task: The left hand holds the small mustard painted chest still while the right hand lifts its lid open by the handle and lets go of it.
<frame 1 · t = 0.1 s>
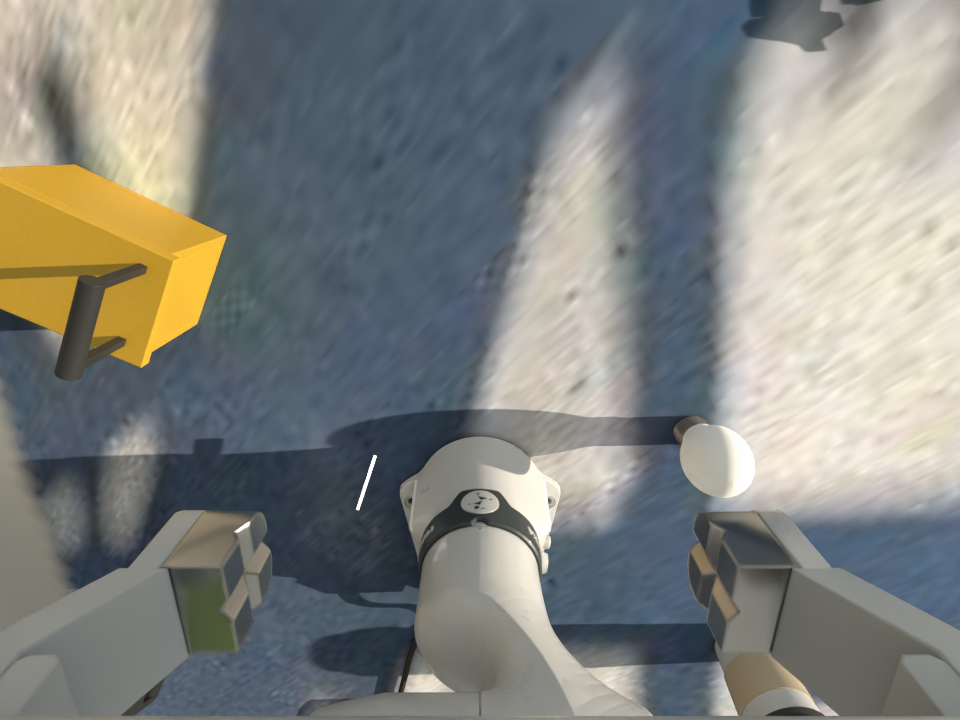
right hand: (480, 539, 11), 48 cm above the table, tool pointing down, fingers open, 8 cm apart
chest: (139, 248, 56), on the table
light bulb: (692, 428, 64), on the table
lid: (32, 282, 43), point 15 cm above the table, hinge at 0.0°
coffee cup: (740, 642, 75), on the table
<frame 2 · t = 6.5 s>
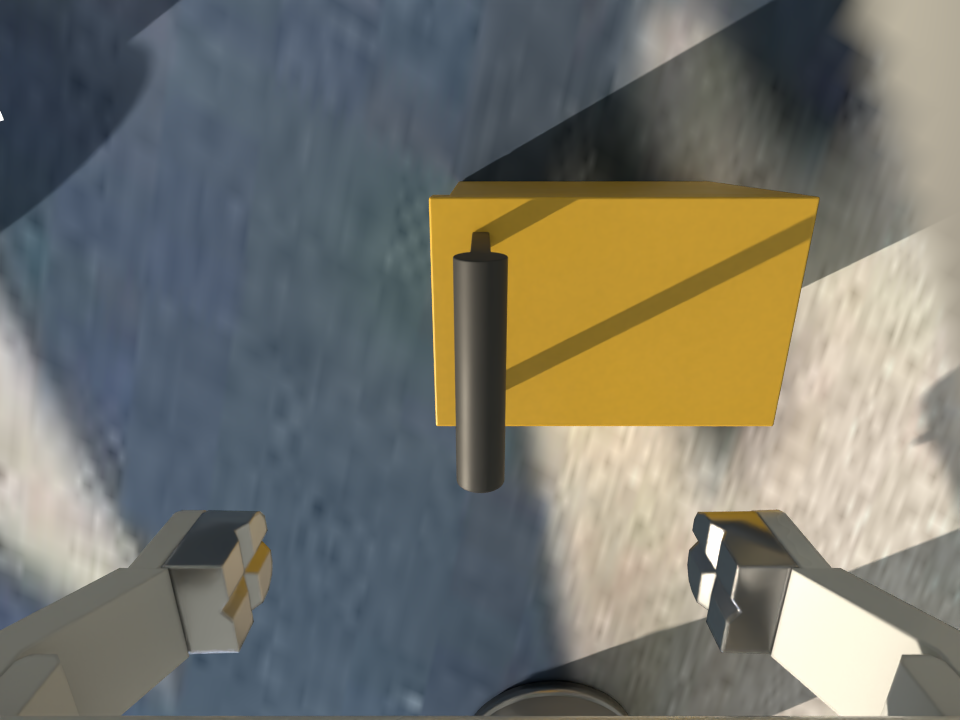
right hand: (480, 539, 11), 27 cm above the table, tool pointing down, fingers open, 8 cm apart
chest: (578, 267, 35), on the table
lid: (631, 343, 22), point 15 cm above the table, hinge at 0.0°
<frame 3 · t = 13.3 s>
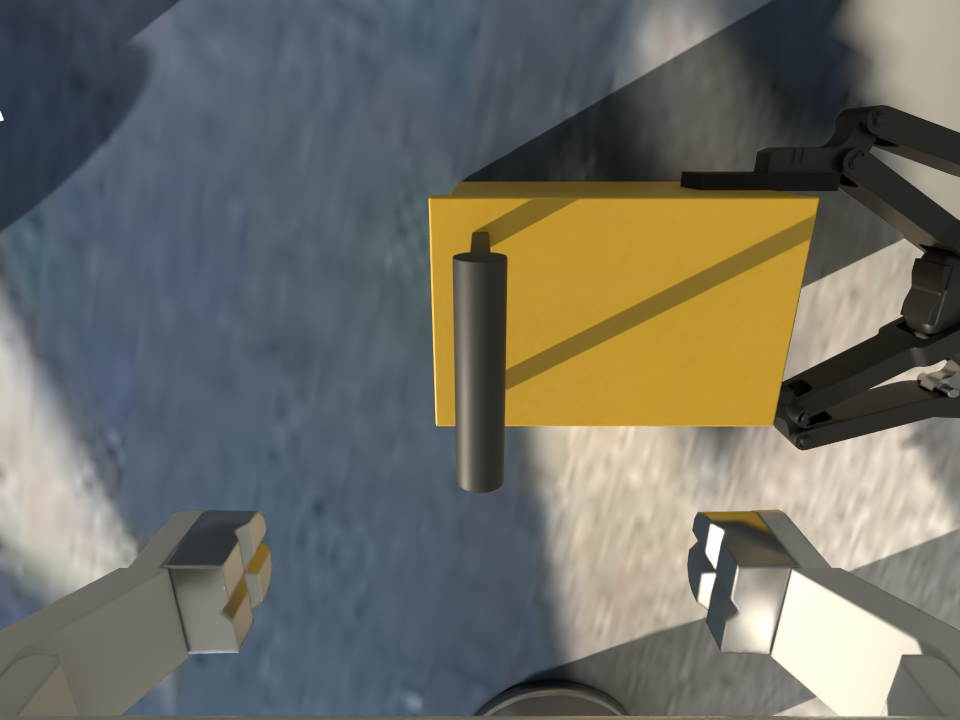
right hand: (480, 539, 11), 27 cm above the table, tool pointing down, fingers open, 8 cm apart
left hand: (676, 291, 29), fingers closed on chest, 10 cm apart
chest: (578, 267, 35), on the table, touching left hand
lid: (631, 343, 22), point 15 cm above the table, hinge at 0.0°
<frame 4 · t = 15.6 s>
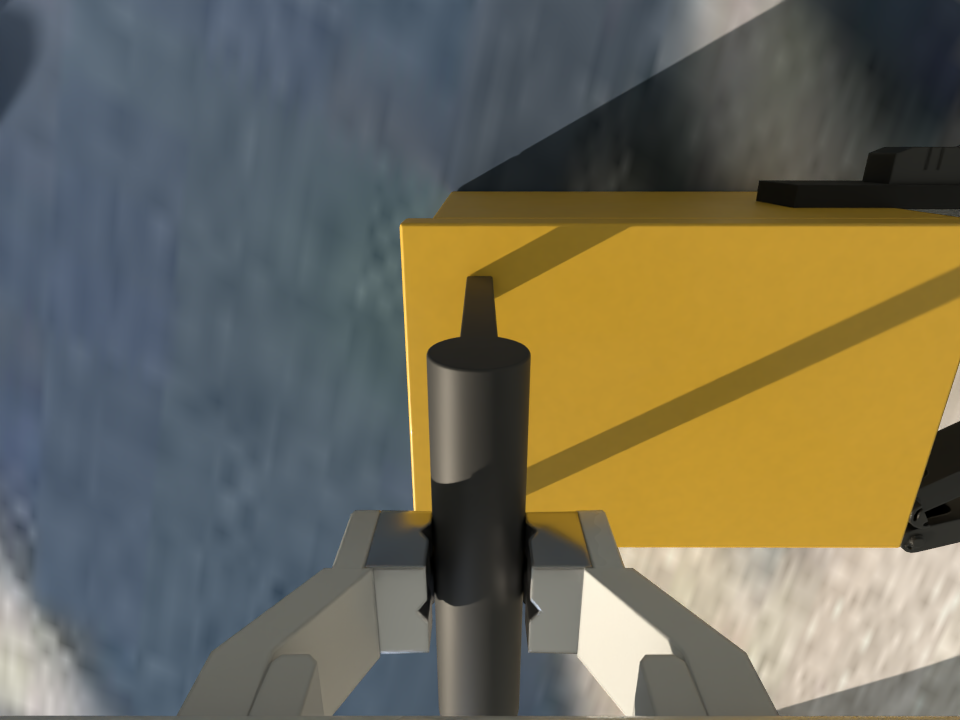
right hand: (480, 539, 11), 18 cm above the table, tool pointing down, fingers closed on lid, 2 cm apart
chest: (606, 301, 27), on the table, touching left hand
lid: (719, 457, 14), point 15 cm above the table, hinge at 0.1°, touching right hand
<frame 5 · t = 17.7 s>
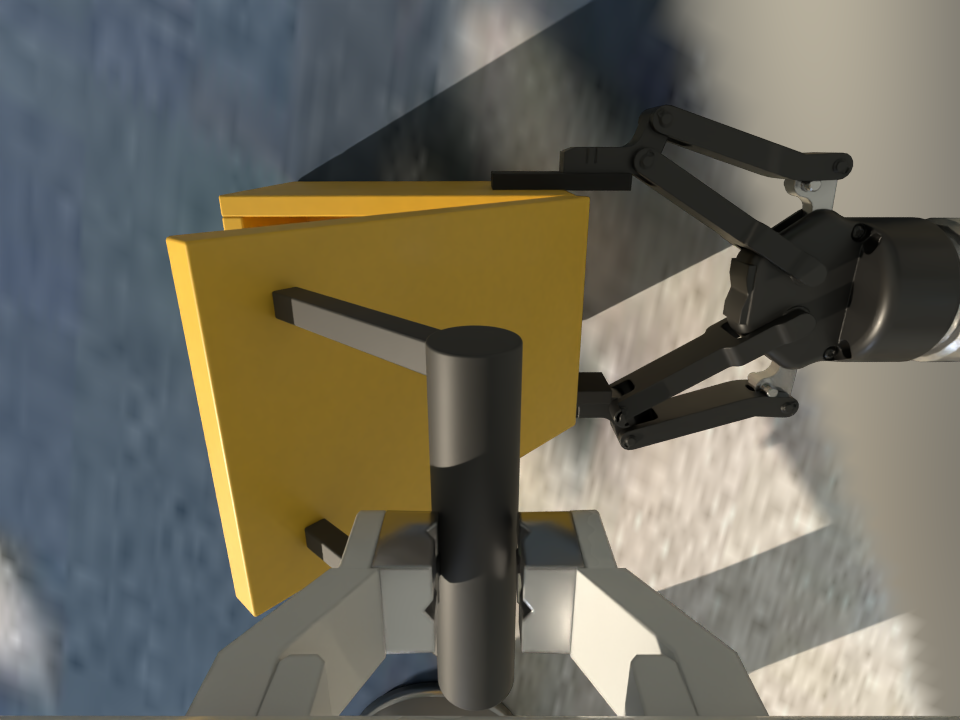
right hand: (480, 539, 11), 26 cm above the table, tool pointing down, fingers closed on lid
left hand: (490, 291, 29), fingers closed on chest, 10 cm apart
chest: (422, 267, 35), on the table, touching left hand
lid: (524, 392, 17), point 19 cm above the table, hinge at 46.5°, touching right hand
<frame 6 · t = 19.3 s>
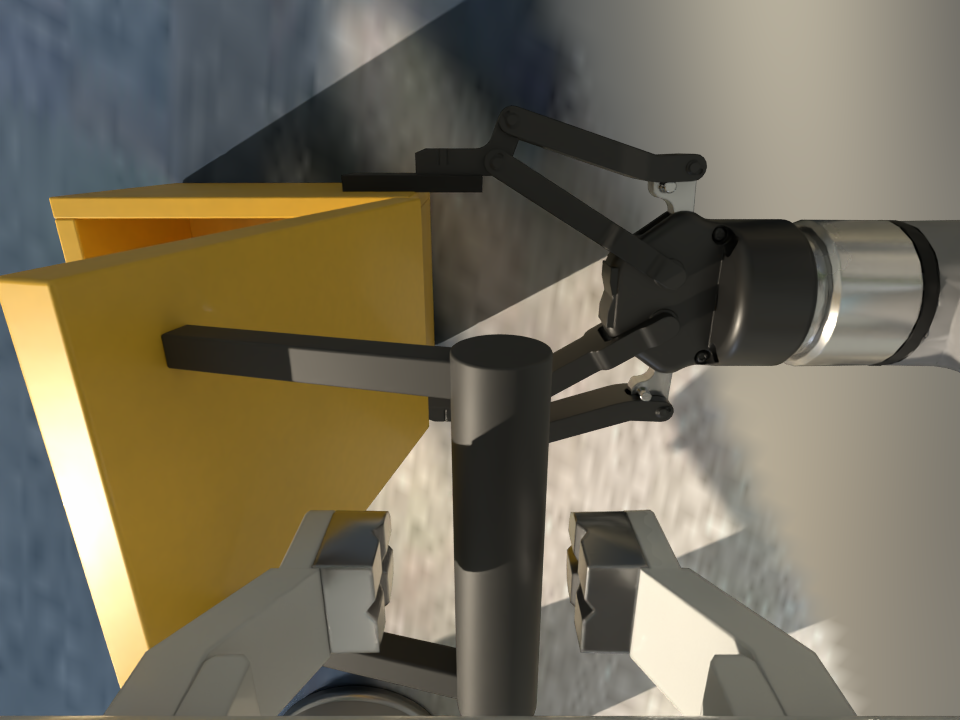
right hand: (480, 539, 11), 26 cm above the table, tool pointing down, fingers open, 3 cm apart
left hand: (356, 293, 29), fingers closed on chest, 10 cm apart
chest: (312, 269, 35), on the table, touching left hand
lid: (431, 402, 17), point 20 cm above the table, hinge at 74.9°
when the left hand's fingers open (6 cm above the table, at t = 23.2 s): chest stays where it is, on the table.
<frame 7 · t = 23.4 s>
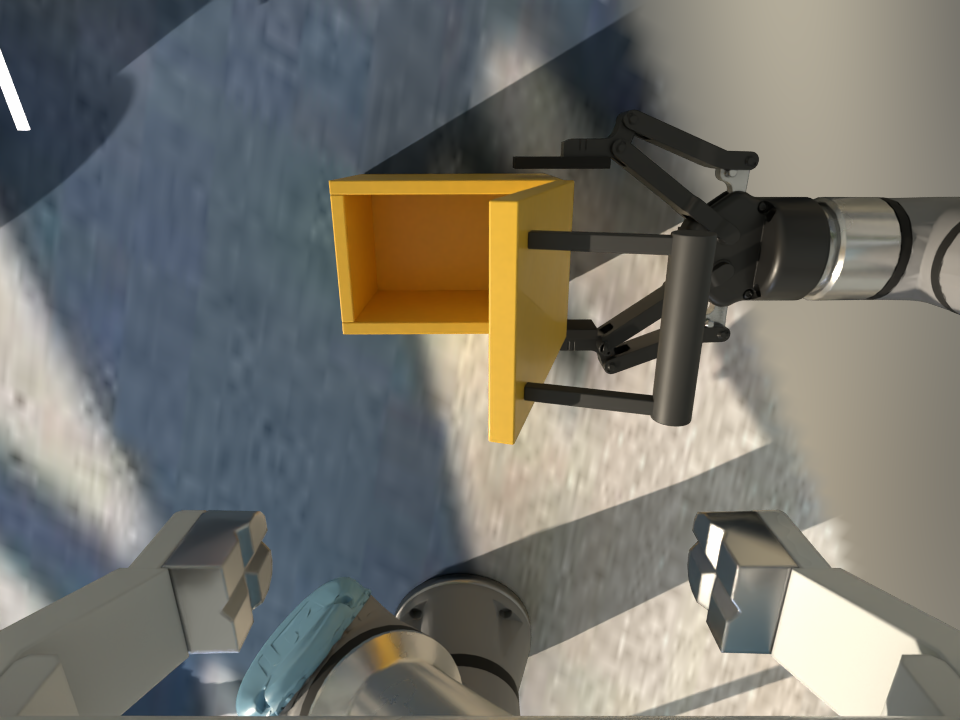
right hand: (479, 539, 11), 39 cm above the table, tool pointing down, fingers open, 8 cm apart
left hand: (511, 250, 42), fingers open, 12 cm apart
chest: (454, 237, 48), on the table
lid: (608, 293, 29), point 20 cm above the table, hinge at 73.5°
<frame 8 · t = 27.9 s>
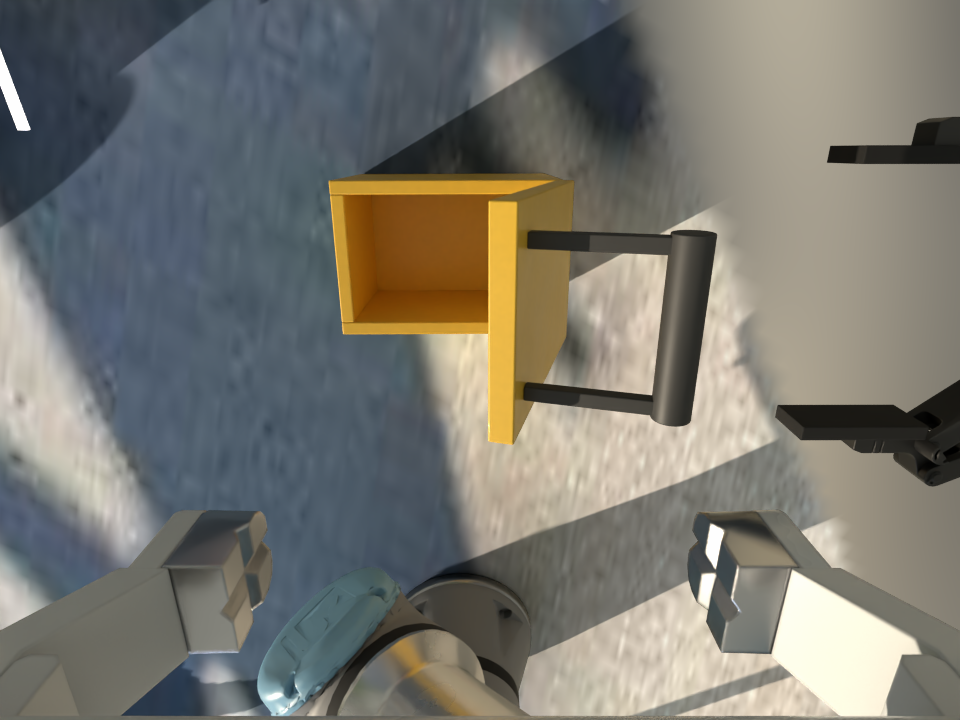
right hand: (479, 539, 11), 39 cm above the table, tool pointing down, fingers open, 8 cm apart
chest: (454, 237, 48), on the table
lid: (607, 293, 29), point 20 cm above the table, hinge at 73.5°
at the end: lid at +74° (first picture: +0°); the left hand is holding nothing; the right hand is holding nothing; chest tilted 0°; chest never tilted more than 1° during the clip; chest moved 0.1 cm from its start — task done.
